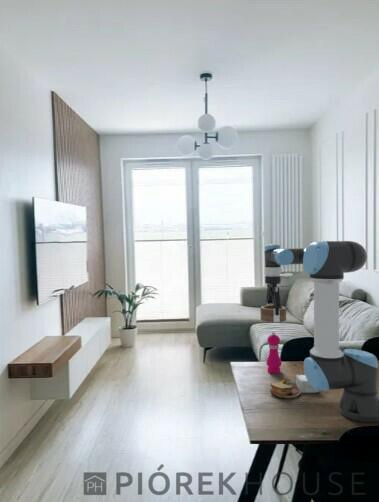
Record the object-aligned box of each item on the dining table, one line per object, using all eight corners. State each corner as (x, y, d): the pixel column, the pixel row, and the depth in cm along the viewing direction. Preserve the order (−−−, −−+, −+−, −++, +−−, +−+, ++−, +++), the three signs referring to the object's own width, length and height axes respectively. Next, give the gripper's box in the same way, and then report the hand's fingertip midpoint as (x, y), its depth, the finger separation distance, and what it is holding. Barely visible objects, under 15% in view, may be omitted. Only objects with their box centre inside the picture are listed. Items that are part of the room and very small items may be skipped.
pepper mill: (277, 375, 180) (277, 334, 179) (264, 372, 184) (263, 332, 183) (283, 371, 185) (283, 331, 185) (270, 368, 190) (269, 329, 189)
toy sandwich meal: (307, 395, 156) (307, 384, 156) (281, 402, 150) (281, 390, 150) (287, 385, 167) (287, 375, 167) (262, 391, 162) (262, 380, 162)
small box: (319, 392, 159) (319, 381, 159) (300, 393, 159) (300, 381, 159) (313, 385, 166) (313, 374, 166) (295, 385, 167) (295, 374, 167)
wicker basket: (288, 321, 178) (288, 309, 178) (264, 322, 178) (263, 309, 178) (282, 316, 190) (281, 305, 190) (258, 317, 190) (258, 305, 190)
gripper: (287, 277, 171) (287, 324, 172) (274, 273, 196) (274, 314, 196) (271, 278, 171) (271, 324, 172) (259, 273, 195) (260, 314, 196)
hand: (273, 319), depth 184 cm, fingers closed on wicker basket, 12 cm apart
